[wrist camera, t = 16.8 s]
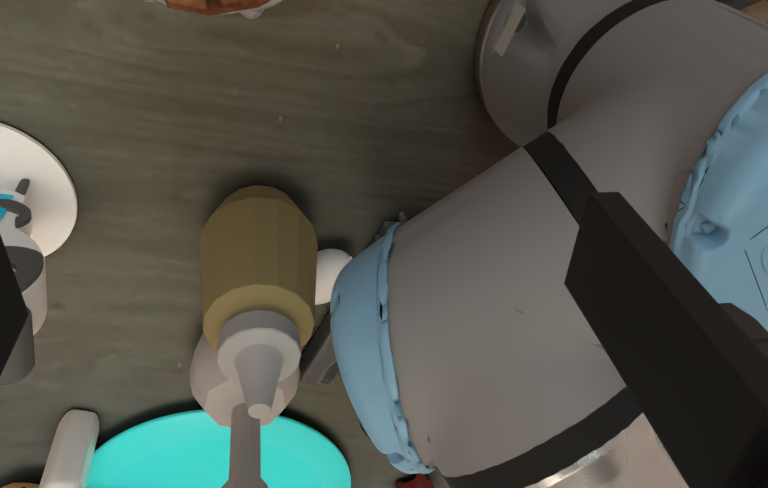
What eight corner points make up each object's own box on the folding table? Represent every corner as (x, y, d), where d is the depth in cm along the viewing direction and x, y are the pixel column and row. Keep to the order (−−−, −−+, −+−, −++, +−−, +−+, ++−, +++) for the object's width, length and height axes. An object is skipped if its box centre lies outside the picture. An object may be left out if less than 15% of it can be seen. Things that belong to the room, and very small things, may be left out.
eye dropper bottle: (120, 423, 57) (92, 552, 47) (78, 452, 58) (43, 583, 49) (79, 401, 55) (41, 532, 45) (36, 432, 56) (-10, 566, 46)
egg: (319, 305, 51) (290, 268, 51) (374, 268, 49) (344, 229, 49) (301, 325, 48) (270, 285, 48) (360, 286, 46) (328, 243, 45)
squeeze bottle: (220, 155, 43) (202, 340, 29) (330, 188, 46) (362, 372, 32) (189, 246, 47) (159, 449, 33) (292, 271, 50) (305, 468, 36)
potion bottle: (186, 370, 54) (160, 580, 40) (204, 293, 50) (182, 499, 36) (286, 381, 57) (295, 581, 43) (311, 308, 53) (331, 505, 38)
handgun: (408, 388, 61) (293, 360, 56) (522, 238, 52) (396, 190, 47) (414, 412, 58) (294, 385, 54) (534, 259, 49) (403, 211, 45)
